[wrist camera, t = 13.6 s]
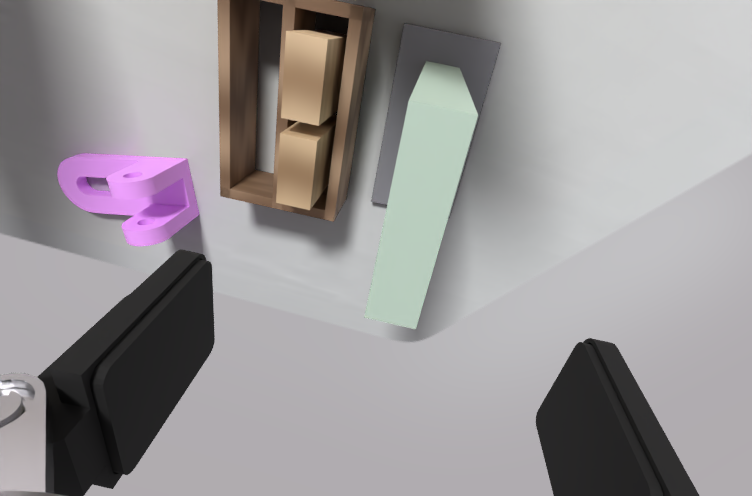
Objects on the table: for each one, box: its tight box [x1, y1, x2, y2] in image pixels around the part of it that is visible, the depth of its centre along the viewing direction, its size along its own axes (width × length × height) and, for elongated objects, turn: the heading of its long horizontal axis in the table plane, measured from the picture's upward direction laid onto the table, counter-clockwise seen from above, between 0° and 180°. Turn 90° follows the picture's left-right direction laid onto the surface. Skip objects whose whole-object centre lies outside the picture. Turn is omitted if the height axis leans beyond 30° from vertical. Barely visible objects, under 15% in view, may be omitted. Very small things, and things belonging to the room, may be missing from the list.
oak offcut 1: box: [281, 29, 347, 126], centre depth 28 cm, size 5×2×8 cm, turn 170°
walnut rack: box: [218, 0, 375, 222], centre depth 31 cm, size 15×9×5 cm, turn 170°
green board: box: [364, 61, 478, 329], centre depth 25 cm, size 10×2×18 cm, turn 170°
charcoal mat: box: [371, 23, 501, 219], centre depth 33 cm, size 14×7×1 cm, turn 170°
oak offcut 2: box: [276, 115, 337, 210], centre depth 31 cm, size 5×2×8 cm, turn 170°
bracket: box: [57, 153, 199, 246], centre depth 37 cm, size 13×6×7 cm, turn 89°
